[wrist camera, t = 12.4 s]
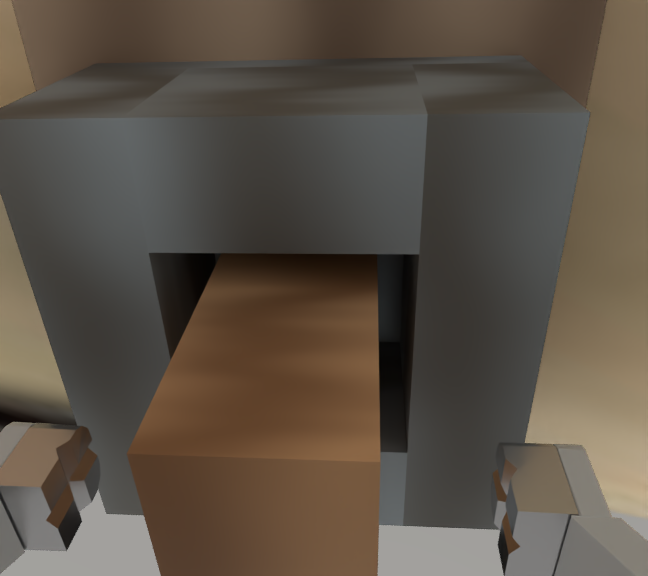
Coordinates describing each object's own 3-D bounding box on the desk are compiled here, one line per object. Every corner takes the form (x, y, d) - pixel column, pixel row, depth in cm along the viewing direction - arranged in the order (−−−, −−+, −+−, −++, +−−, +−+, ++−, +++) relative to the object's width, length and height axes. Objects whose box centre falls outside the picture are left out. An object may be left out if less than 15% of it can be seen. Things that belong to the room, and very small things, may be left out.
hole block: (599, -32, 16) (738, -11, 10) (517, 414, 24) (565, 574, 18) (26, -16, 17) (-162, 13, 11) (134, 405, 25) (60, 551, 19)
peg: (376, 205, 18) (380, 461, 9) (374, 316, 20) (376, 612, 11) (243, 204, 18) (126, 454, 9) (255, 315, 20) (168, 601, 11)
